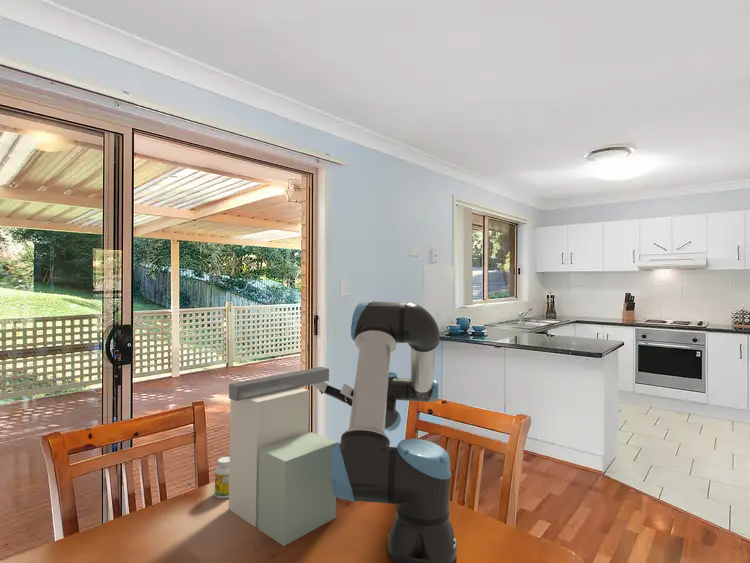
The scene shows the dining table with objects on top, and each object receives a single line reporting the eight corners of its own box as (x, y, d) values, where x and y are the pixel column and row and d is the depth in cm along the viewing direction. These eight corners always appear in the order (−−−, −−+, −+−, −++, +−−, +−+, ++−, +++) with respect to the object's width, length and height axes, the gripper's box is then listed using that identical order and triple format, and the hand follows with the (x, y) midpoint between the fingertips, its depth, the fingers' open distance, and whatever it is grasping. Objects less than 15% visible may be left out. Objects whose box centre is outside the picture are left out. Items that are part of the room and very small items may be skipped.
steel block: (320, 378, 131) (321, 366, 131) (328, 380, 129) (329, 368, 129) (228, 398, 108) (229, 384, 108) (236, 401, 106) (236, 386, 106)
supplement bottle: (237, 496, 120) (237, 461, 120) (216, 501, 118) (217, 465, 118) (232, 487, 125) (233, 454, 125) (212, 492, 122) (213, 457, 122)
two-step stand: (279, 487, 126) (281, 382, 125) (335, 517, 111) (338, 398, 110) (228, 508, 114) (230, 392, 113) (283, 546, 99) (286, 412, 98)
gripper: (393, 427, 135) (352, 405, 121) (337, 410, 152) (295, 388, 138) (401, 404, 138) (362, 379, 124) (345, 389, 154) (304, 366, 141)
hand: (326, 384), depth 131 cm, fingers open, 13 cm apart
